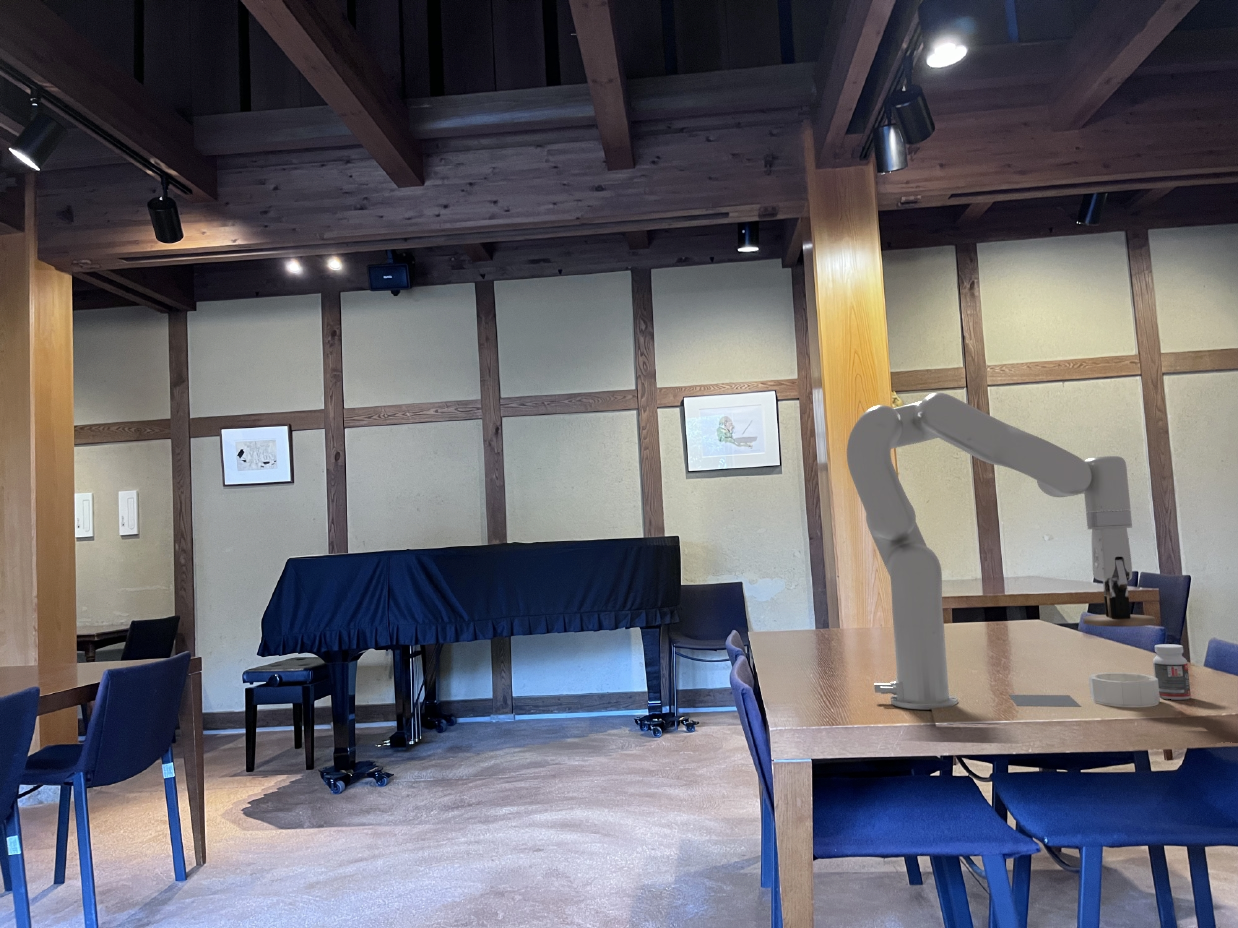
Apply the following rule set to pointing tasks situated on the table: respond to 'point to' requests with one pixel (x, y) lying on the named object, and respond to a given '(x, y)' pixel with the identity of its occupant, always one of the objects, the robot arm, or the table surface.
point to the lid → (1108, 621)
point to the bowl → (1124, 689)
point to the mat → (1044, 700)
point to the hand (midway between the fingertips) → (1118, 616)
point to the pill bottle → (1171, 672)
